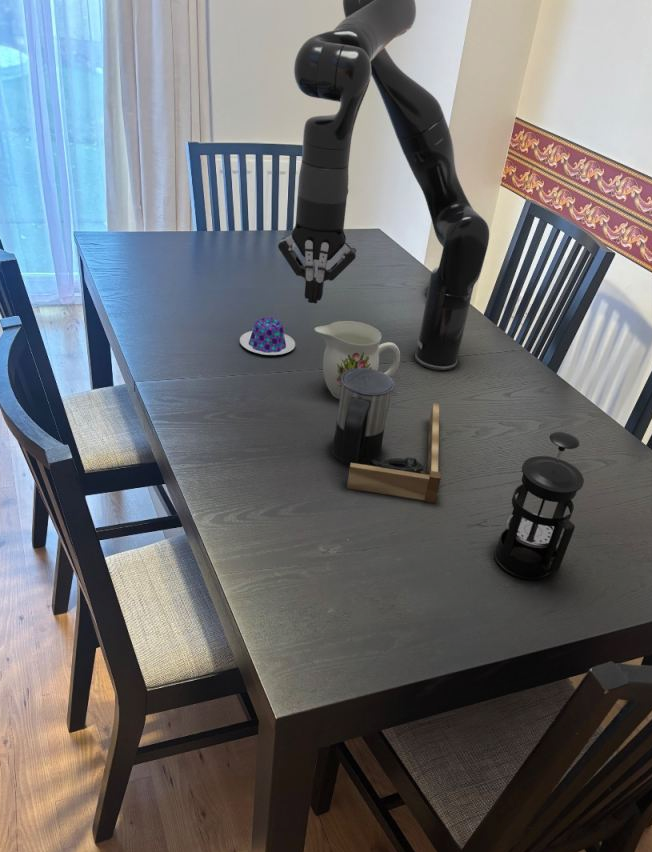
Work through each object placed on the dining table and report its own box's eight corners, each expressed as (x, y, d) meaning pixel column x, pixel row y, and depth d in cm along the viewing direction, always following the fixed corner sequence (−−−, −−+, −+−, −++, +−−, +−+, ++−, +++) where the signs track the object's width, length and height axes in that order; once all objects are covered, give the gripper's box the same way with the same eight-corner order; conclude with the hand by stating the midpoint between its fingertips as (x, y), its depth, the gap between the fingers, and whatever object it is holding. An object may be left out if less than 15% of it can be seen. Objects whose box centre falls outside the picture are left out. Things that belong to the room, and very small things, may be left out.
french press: (479, 545, 125) (515, 423, 111) (525, 533, 129) (566, 413, 115) (524, 594, 117) (569, 469, 103) (571, 579, 121) (621, 456, 107)
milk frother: (329, 437, 145) (338, 365, 136) (413, 442, 147) (427, 371, 138) (334, 482, 134) (344, 407, 125) (424, 487, 136) (441, 414, 127)
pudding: (261, 362, 164) (262, 339, 161) (228, 339, 171) (229, 317, 167) (306, 350, 171) (308, 328, 168) (272, 328, 178) (274, 306, 174)
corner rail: (360, 412, 153) (363, 389, 150) (436, 424, 153) (441, 401, 150) (346, 489, 133) (350, 464, 130) (434, 503, 133) (440, 478, 130)
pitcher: (401, 406, 157) (412, 343, 149) (313, 407, 153) (320, 342, 144) (386, 379, 165) (397, 318, 157) (302, 379, 161) (308, 316, 152)
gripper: (275, 194, 117) (269, 304, 127) (363, 207, 117) (350, 316, 127) (283, 180, 123) (277, 287, 133) (367, 192, 123) (354, 298, 133)
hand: (313, 301), depth 130 cm, fingers closed
